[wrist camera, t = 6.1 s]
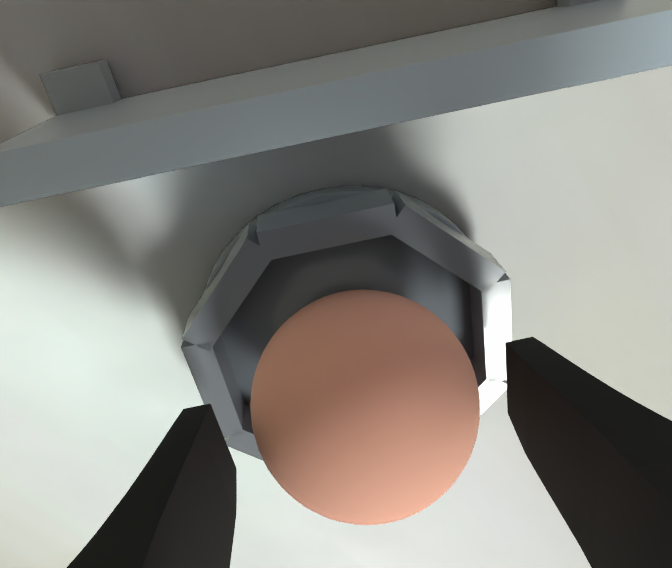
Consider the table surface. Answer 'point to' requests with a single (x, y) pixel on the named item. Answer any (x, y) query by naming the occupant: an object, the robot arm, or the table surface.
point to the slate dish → (340, 288)
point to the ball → (365, 407)
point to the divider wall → (323, 95)
